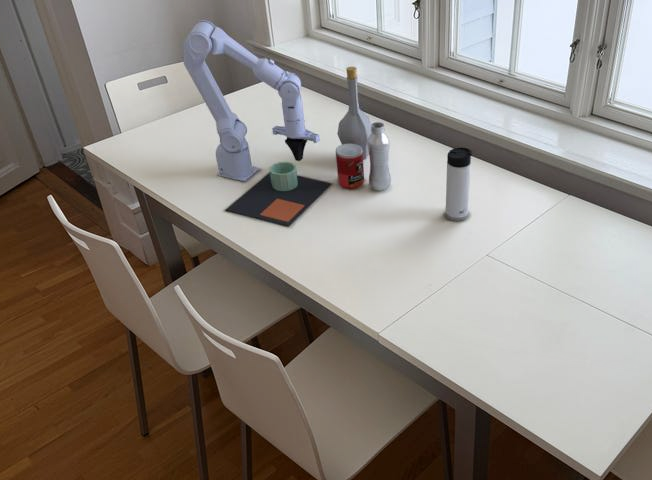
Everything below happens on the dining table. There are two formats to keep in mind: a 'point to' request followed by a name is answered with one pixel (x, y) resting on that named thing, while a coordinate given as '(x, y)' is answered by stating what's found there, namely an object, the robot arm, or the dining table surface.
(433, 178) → the dining table surface
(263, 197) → the mat
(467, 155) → the travel mug
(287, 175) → the cup
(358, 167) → the canned food
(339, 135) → the bottle
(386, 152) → the silver smooth rounded piece
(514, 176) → the dining table surface
